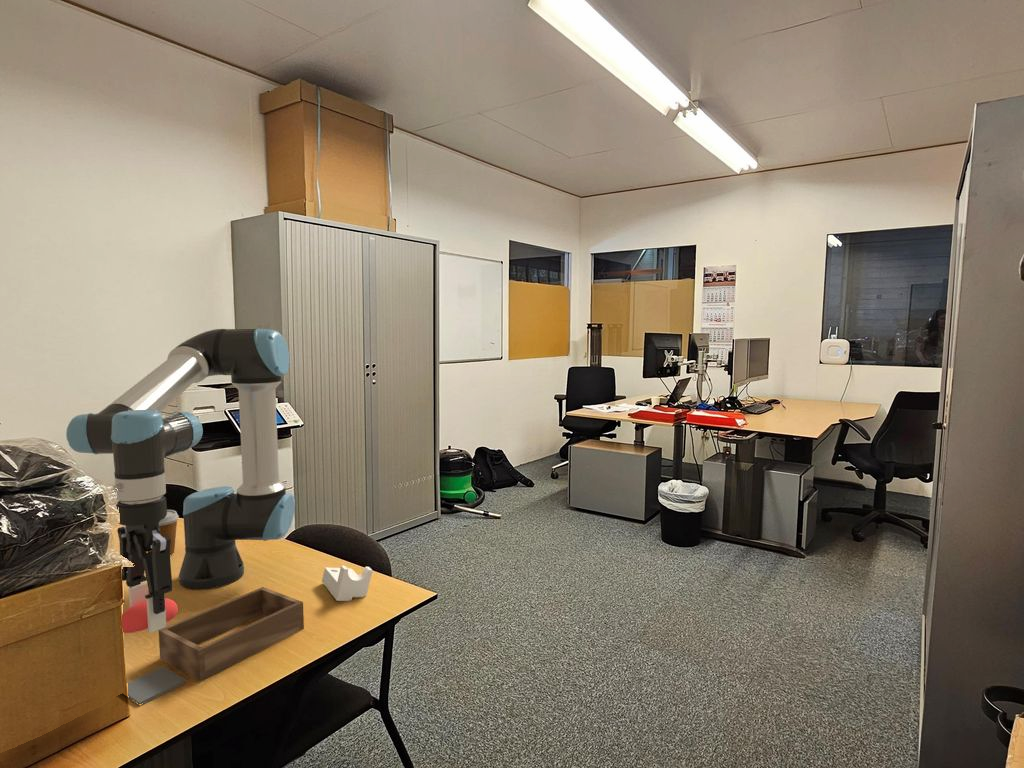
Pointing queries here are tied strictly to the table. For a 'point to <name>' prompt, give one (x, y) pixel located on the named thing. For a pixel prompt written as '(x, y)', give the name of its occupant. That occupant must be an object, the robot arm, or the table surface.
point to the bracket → (346, 582)
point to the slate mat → (153, 685)
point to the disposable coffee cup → (169, 528)
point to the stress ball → (144, 616)
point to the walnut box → (236, 646)
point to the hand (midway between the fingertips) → (148, 624)
